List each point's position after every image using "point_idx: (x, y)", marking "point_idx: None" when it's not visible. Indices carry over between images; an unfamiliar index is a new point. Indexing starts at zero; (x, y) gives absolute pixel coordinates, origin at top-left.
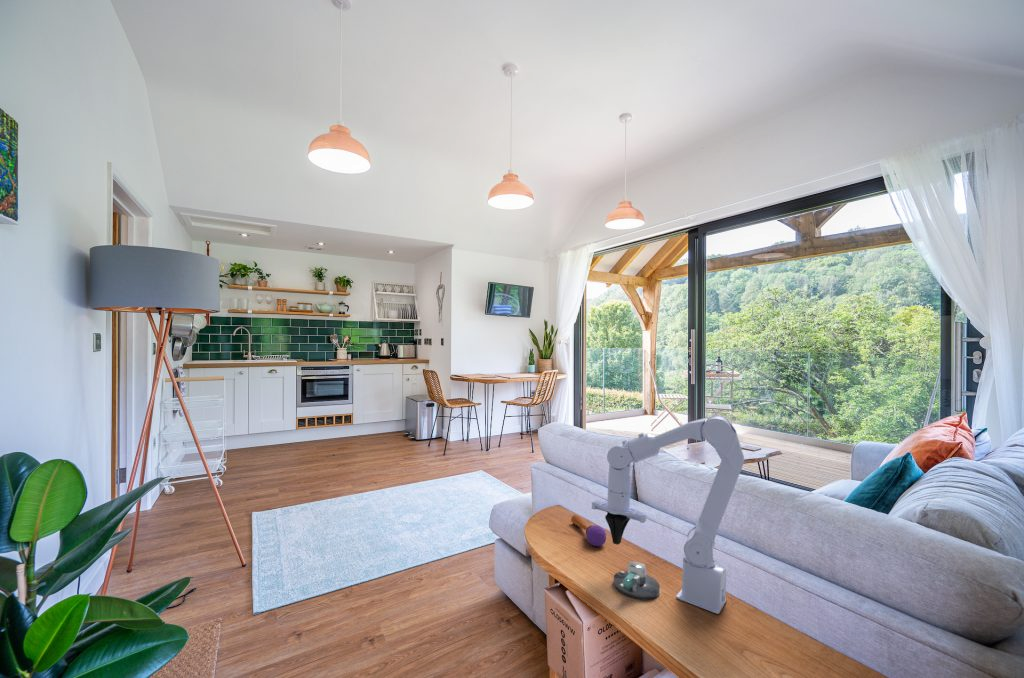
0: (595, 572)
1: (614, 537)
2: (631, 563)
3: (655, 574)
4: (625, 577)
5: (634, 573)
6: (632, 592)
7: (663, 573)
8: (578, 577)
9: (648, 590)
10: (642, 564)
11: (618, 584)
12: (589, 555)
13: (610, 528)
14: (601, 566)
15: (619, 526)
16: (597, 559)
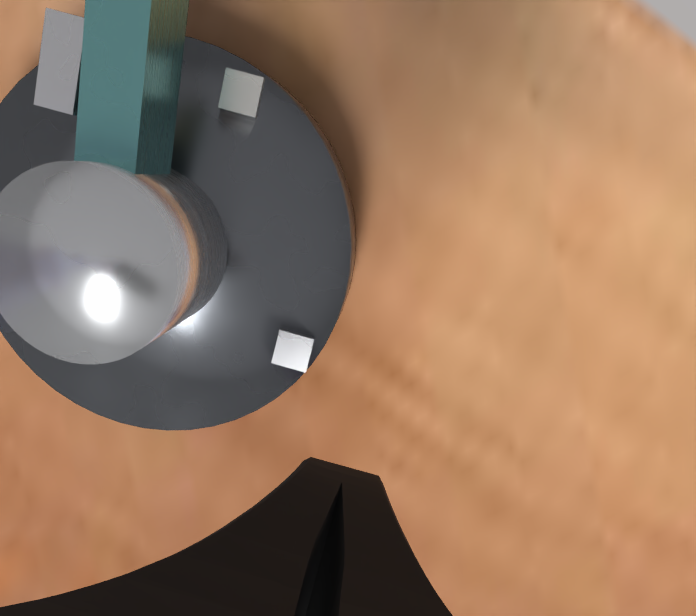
0: (535, 331)
1: (344, 499)
2: (142, 285)
3: (89, 530)
4: (251, 270)
5: (92, 130)
6: None
7: (42, 571)
8: (673, 154)
9: (31, 137)
10: (33, 324)
11: (282, 98)
12: (639, 613)
13: (433, 612)
14: (503, 464)
15: (138, 596)
16: (558, 571)
